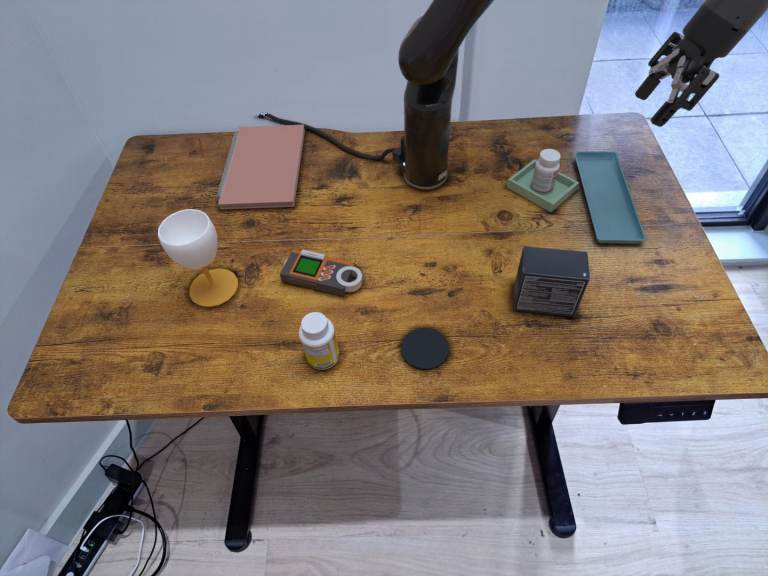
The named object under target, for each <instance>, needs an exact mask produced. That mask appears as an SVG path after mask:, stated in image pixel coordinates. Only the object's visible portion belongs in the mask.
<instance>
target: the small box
mask: <svg viewBox="0 0 768 576" xmlns="http://www.w3.org/2000/svg"><path fill="white" fill-rule="evenodd" d="M519 259H520V260H519V264H518V267H517V271H516V276H515V278H514V279H515V280H514V283H513V303H512V310H513V311H514V312H521V313H530V314H540V315H547V316H556V317H557V316H558V317H564V318H565V317H567V318H575V317H576V315H577V311H578V309H579V306H580V304H581V302H582V300H583V297H584V295H585V292H586V289H587V287H588V284H589V283H590V281H591V273H590V272H591V271H590V261H589V253H588V251H583V250H573V249H572V250H570V249H559V248H549V247H548V248H547V247H539V246H538V247H537V246H527V245H523V247H522V249H521V255H520V258H519Z"/></svg>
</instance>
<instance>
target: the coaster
mask: <svg viewBox="0 0 768 576" xmlns="http://www.w3.org/2000/svg"><path fill="white" fill-rule="evenodd" d="M400 353H401V355H402V358H403V359H404V361H405V362H406V363H407V364H408V365H409V366H411V367H413V368H415V369H417V370H420V371H431V370H434V369H437V368H439V367H441V366H442V365H443V364H444V363H445V362H446V361H447V359H448V357H449V354H450V343H449V341H448V339H447V337H446V336H445V335H444V334H443V333H442V332H440V331H439V330H437V329H435V328H432V327H425V326H423V327H418V328H414V329H412V330H410V331H408V333H407V334H405V336H404V337H403V339H402V340H401V344H400Z"/></svg>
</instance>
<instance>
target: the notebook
mask: <svg viewBox="0 0 768 576" xmlns="http://www.w3.org/2000/svg"><path fill="white" fill-rule="evenodd" d="M305 132H306V128H304V125H290V124H286V125H261V126H260V125H259V126H239V127H238V130H237V132H235V133H233V137H232V139H231V144H230V146H229V147H230V148H229V151H228V155H227V158H226V161H225V165H224V169H223V172H222V175H221V179H220V182H219V187H218V189H217V193H216V196H215V199H216V201H217V202H218V204H217V205H218V206H219V210H244V209H245V210H247V209H270V208H271V209H273V208H294V207H295V203H296V195H297V189H298V183H299V175H300V168H301V162H302V155H303V148H304V140H305V134H306V133H305Z"/></svg>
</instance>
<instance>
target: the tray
mask: <svg viewBox="0 0 768 576" xmlns="http://www.w3.org/2000/svg"><path fill="white" fill-rule="evenodd" d="M537 160H538V159H536V158H535V159H532V160H531V161H530V162H529V163H527V164H526V165H525V166H523V167H522V168H521V169H520V170H518V171H517V172H515V174H513V175H512V176H511V177H509V178H508V179H507V183H506V188H507V189H509V190H511V191H512V192H514V193H516V194H517V195H519V196H521V197H523V198H525V199H526V200H528V201H530V202H531V203H533V204H535V205H537V206H539V207H541V208H542V209H544V210H546V211H547V212H549V213H552V212H553V211H554V210H556V209H557V208H558V207H559V206H560V205H561V204H563V203H564V202H565V201H566V200H567V199H569V198H570V197H571V196H572V195H573V194H574V193H575V192H577V190H578V187H579V184H580V182H579V181H577V180H575V179H573V178H572V177H569V176H568V175H565V174H564V173H562V172H560V171H558V174H557V178H556V181H555V185H554V188H553V190H552V191H551V192H550V193H548V194H539V193H536V192H534V191H533V190H532V189H531V181H532V177H533V173H534V169H535V164H536V161H537Z"/></svg>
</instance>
